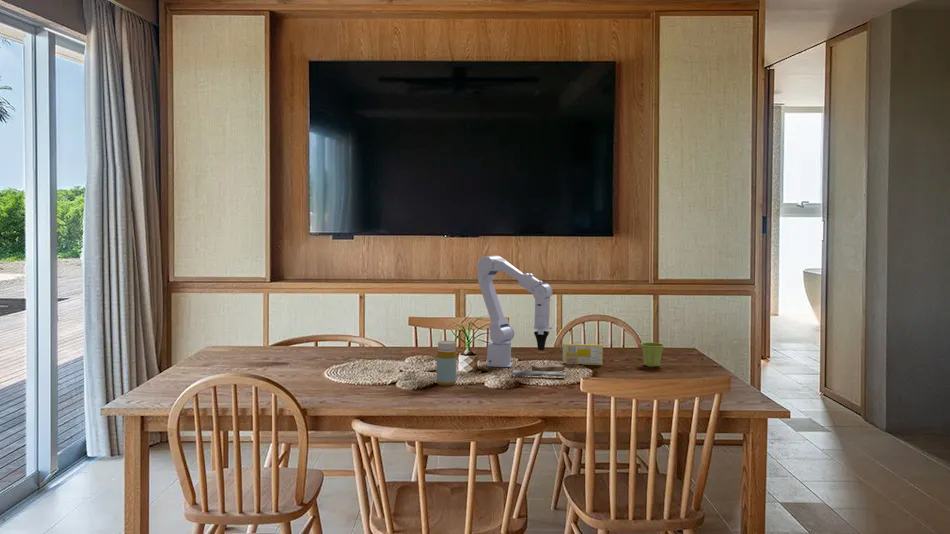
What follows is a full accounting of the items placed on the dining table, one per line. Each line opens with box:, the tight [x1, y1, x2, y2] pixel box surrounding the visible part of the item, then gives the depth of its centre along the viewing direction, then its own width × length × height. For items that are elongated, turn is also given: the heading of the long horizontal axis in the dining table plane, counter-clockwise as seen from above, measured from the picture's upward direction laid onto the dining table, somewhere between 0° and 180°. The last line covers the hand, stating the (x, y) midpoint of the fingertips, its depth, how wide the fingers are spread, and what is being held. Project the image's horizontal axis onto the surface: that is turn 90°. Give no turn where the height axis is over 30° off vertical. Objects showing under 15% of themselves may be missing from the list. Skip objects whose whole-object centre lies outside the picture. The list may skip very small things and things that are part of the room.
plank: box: [531, 363, 566, 372], centre depth 306 cm, size 12×4×3 cm, turn 109°
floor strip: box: [511, 369, 567, 377], centre depth 299 cm, size 20×6×2 cm, turn 82°
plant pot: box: [640, 342, 665, 367], centre depth 323 cm, size 9×9×9 cm
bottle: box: [435, 340, 457, 387], centre depth 283 cm, size 7×7×15 cm
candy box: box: [562, 343, 604, 366], centre depth 323 cm, size 16×2×8 cm, turn 84°
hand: (541, 350), depth 308 cm, fingers closed
